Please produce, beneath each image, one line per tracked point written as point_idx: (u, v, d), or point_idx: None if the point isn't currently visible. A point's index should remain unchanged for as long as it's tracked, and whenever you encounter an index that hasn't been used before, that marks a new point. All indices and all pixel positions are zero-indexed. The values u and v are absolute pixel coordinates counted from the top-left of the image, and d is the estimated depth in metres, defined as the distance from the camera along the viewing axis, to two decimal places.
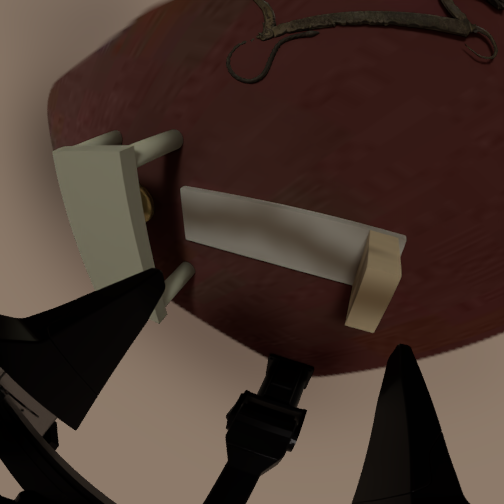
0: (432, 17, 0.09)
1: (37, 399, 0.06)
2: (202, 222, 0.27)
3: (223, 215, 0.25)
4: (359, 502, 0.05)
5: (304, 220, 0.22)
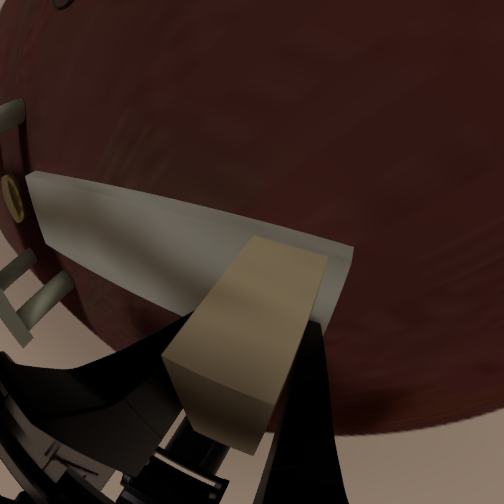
0: None
1: (102, 461, 0.05)
2: (48, 221, 0.15)
3: (58, 210, 0.14)
4: (261, 480, 0.06)
5: (133, 214, 0.11)
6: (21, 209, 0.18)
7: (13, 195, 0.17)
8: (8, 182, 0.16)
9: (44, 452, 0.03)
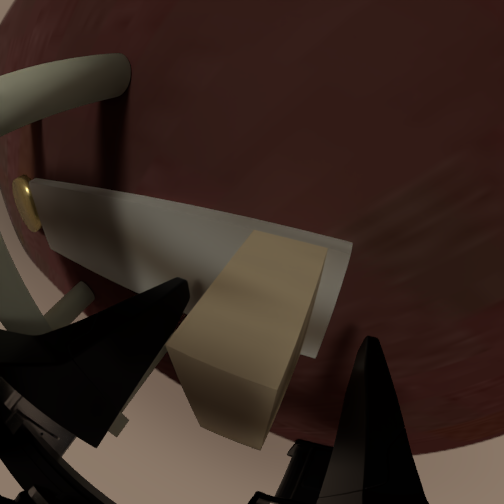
0: None
1: (58, 421, 0.05)
2: (52, 226, 0.16)
3: (62, 214, 0.14)
4: (323, 496, 0.05)
5: (136, 214, 0.11)
6: None
7: (28, 197, 0.15)
8: (21, 184, 0.15)
9: (6, 403, 0.04)
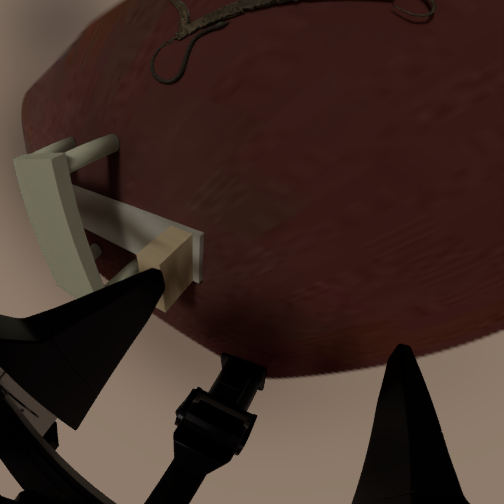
0: None
1: (37, 399, 0.06)
2: (82, 212, 0.31)
3: (91, 208, 0.29)
4: (358, 502, 0.05)
5: (130, 214, 0.27)
6: None
7: None
8: None
9: None
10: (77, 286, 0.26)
